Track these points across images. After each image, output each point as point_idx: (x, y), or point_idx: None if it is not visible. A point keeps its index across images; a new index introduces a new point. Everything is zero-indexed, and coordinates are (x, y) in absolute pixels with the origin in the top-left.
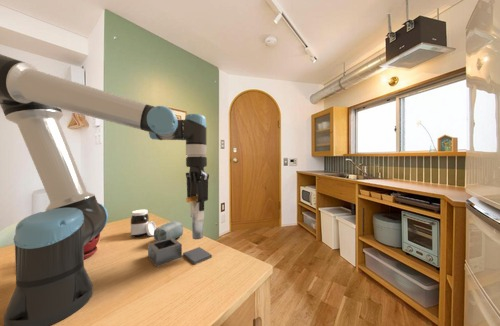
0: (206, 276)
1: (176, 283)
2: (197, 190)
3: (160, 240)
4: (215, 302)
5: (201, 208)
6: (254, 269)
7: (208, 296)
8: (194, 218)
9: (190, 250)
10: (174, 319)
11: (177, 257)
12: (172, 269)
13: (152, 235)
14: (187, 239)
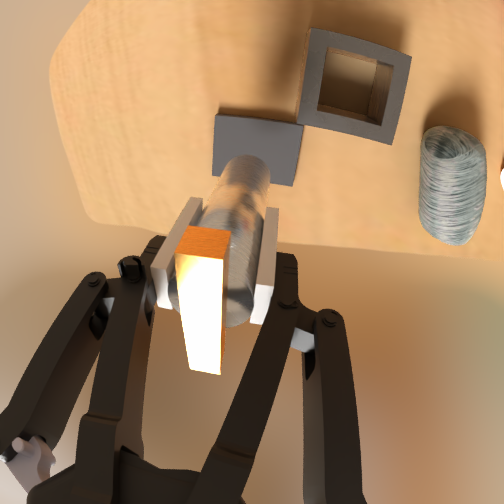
0: (142, 106)
1: (172, 37)
2: (114, 353)
3: (434, 130)
4: (69, 83)
5: (147, 249)
6: (100, 202)
7: (87, 78)
8: (218, 198)
9: (296, 152)
10: (84, 12)
11: (297, 99)
12: (247, 55)
13: (502, 172)
14: (390, 210)
